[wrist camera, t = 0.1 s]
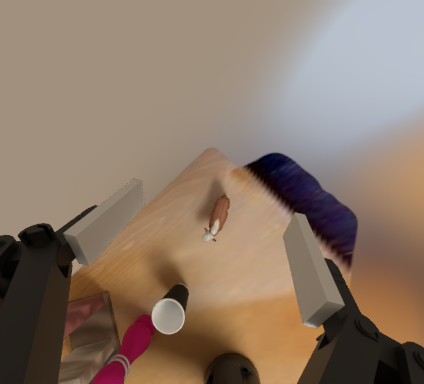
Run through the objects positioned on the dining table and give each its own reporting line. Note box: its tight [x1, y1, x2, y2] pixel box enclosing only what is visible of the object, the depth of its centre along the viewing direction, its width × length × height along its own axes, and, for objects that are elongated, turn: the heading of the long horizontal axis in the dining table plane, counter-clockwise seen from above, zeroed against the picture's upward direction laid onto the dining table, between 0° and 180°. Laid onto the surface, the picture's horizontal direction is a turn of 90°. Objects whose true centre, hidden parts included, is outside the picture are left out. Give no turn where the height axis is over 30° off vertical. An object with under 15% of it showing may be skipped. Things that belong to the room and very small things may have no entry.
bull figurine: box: [202, 195, 230, 242], centre depth 46 cm, size 4×13×8 cm, turn 156°
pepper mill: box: [92, 316, 155, 384], centre depth 39 cm, size 7×7×20 cm
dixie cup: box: [152, 283, 189, 334], centre depth 44 cm, size 8×8×11 cm
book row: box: [58, 292, 121, 384], centre depth 44 cm, size 19×14×14 cm
